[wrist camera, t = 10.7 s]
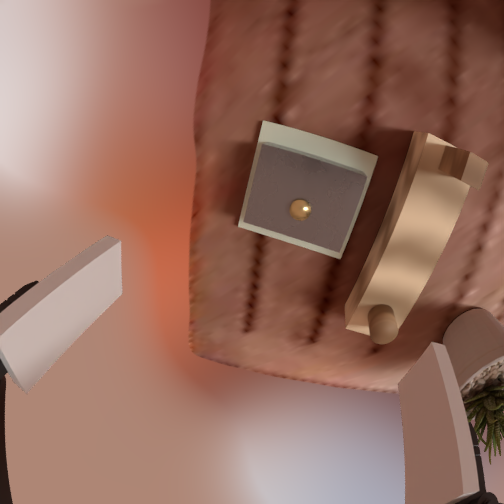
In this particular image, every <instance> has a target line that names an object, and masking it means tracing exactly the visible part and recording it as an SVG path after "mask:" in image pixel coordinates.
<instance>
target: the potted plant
mask: <svg viewBox="0 0 504 504" xmlns="http://www.w3.org/2000/svg"><path fill="white" fill-rule="evenodd" d="M443 345H445V347H446V350H447V352H448V355H449V358H450V361H451V364H452V367H453V370H454V373H455V376H456V380H457V383H458V386H459V390H460V393H461V397H462V400H463V404H464V408H465V412H466V416H467V420H468V422H470V421H471V420H473V419H475V422H476V423H475V426H474V430H475V432H476V433H477V435H478V437H479V439H478V444H479V442H480V440H481V441H482V442H483V443H484V444H485V445H486V448H485V451H486V450H487V448H488V447H489V462H490V464H491V459H490V458H491V444H492V440H493V447H494V452H495V456H496V444H497V446H498V450H499V454H500V456H501V450H500V438H501V440H502V437H501V434H500V432H501V433H502V436H503V438H504V413H503V411H504V326H503V325H502V324H501V323H500V322H499V321H498V320H497V319H496V318H495V317H494V316H493V315H492V314H491V313H490V312H488V311H487V310H485V309H472V310H469V311H466V312H465V313H463V314H461V315H460V316H458V317H457V318H456V319H455V320H454V321H453V322H452V323H451V324H450V325H449V327H448V328H447V330H446V332H445V334H444V337H443ZM486 424H487V427H488V428H487V430H488V431H487V442H485V441H484V440H483V439H482V435H483V432H484V430H485V426H486ZM481 428H482V429H481ZM480 429H481V433H479V432H480ZM485 451H484V452H485Z"/></svg>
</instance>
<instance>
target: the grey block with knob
mask: <svg viewBox="0 0 504 504" xmlns="http://www.w3.org/2000/svg"><path fill="white" fill-rule="evenodd" d="M366 180H367V175H366V174H365V173H364V172H363V171H361V170H358V169H355V168H352V167H349V166H347V165H344V164H341V163H338V162H335V161H332V160H329V159H326V158H323V157H319V156H316V155H313V154H310V153H306V152H303V151H300V150H296V149H293V148H289V147H286V146H282V145H279V144H275V143H271V142H266V143H263V144H262V146H261V150H260V155H259V159H258V163H257V167H256V171H255V175H254V179H253V183H252V188H251V192H250V196H249V200H248V204H247V209H246V213H245V217H244V221H243V222H245V223H248V224H251V225H254V226H258V227H261V228H264V229H267V230H270V231H274V232H277V233H280V234H283V235H286V236H289V237H293V238H296V239H299V240H302V241H305V242H308V243H311V244H314V245H317V246H320V247H323V248H326V249H329V250H332V251H335V252H338V253H340V250H341V248H342V245H343V243H344V240H345V238H346V235H347V233H348V230H349V227H350V225H351V222H352V220H353V217H354V214H355V211H356V209H357V206H358V203H359V200H360V198H361V195H362V192H363V189H364V186H365V183H366Z"/></svg>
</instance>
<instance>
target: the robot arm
mask: <svg viewBox="0 0 504 504" xmlns="http://www.w3.org/2000/svg"><path fill="white" fill-rule="evenodd" d="M120 295H122V274H121V241H120V240H118V239H115V238H113V237H110V236H108V235H107V236H105V237H104V238H102V239H101V240H99V241H98V242H96V243H95V244H93V245H92V246H90V247H89V248H87V249H85V250H84V251H83V252H81V253H80V254H78V255H77V256H75V257H74V258H72V259H71V260H69V261H68V262H66V263H65V264H64V265H62V266H61V267H59V268H58V269H57V270H55V271H54V272H52V273H51V274H50V275H48V276H47V277H46V278H44V279H43V280H42V281H40V282H38V281H35V282H32V283H29V284H27V285H25V286H23V287H22V288H21V289H19V290H18V291H17V292H15V295H14V294H13V295H12V296H10V297H9V298H8V300H7V301H6V300H5V301H4V302H3V303H1V304H0V504H13V503H12V498H11V492H10V485H9V479H8V470H7V461H6V448H5V421H4V420H5V390H6V378H5V374H6V373H7V372H8V373H9V375H10V377H11V378H12V380H13V382H14V383H15V384H17V385H18V386H19V387H20V388H21V389H22V390H23V391H24V392H25V393H28V392H29V391H30V390H31V388H32V387H33V386H34V385H35V384H36V383H37V382H38V381H39V379H40V378H41V377H42V376H43V375H44V374H45V372H47V370H48V369H49V368H50V367H51V366H52V365H53V364H54V363H55V362H56V361H57V360H58V358H59V357H60V356H61V355H62V354H63V353H64V352H65V351H66V350H67V349H68V348H69V347H70V346H71V345H72V344H73V343H74V342H75V341H76V339H77V338H78V337H79V336H80V335H81V334H82V333H83V332H84V331H85V330H86V329H87V328H88V327H89V326H90V325H91V324H92V323H93V322H94V321H95V320H96V319H97V318H98V317H99V316H100V315H101V314H102V313H103V312H104V311H105V310H106V309H107V308H108V307H109V306H110V305H111V304H112V303H113V302H114V301H115V300H116V299H117V298H118V297H120ZM398 390H399V397H400V405H401V415H402V426H403V438H404V454H405V504H502V503H498V500H497V498H496V496H495V495H494V494H492V493H491V492H486V489H485V481H484V473H483V467H482V461H481V456H480V449H479V447H478V445H479V444H478V439H477V434H476V432H475V430H474V428H473V426H472V424H471V422H468V420H467V416H466V412H465V408H464V404H463V400H462V397H461V393H460V390H459V386H458V383H457V380H456V376H455V373H454V370H453V367H452V364H451V361H450V358H449V355H448V352H447V350H446V347H445V345H442V344H438V343H435V342H431V343H430V345H429V346H428V347H427V349H426V350H425V351H424V353H423V354H422V355H421V357H420V358H419V359H418V360H417V362H416V363H415V364H414V365H413V367H412V368H411V369H410V370H409V371H408V373H407V374H406V375H405V376H404V377H403V379H402V380H401V381H400V382H399V383H398Z"/></svg>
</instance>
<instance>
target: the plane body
mask: <svg viewBox="0 0 504 504" xmlns="http://www.w3.org/2000/svg"><path fill="white" fill-rule="evenodd" d="M487 166H488V162H486V161H485V160H483V159H481V158H480V157H478V156H476V155H475V154H473V153H471V152H469V151H466V150H462V149H458V148H456V147H455V146H453V145H451V144H449V143H447V142H445V141H443V140H441V139H439V138H437V137H435V136H433V135H431V134H429V133H424V132H417V131H414V133H413V136H412V139H411V143H410V146H409V149H408V152H407V155H406V158H405V162H404V165H403V168H402V170H401V173H400V176H399V179H398V182H397V185H396V188H395V190H394V193H393V196H392V199H391V201H390V204H389V206H388V209H387V212H386V214H385V217H384V219H383V222H382V224H381V227H380V229H379V232H378V234H377V236H376V239H375V241H374V243H373V246H372V248H371V250H370V253H369V255H368V257H367V259H366V262H365V264H364V266H363V268H362V270H361V273H360V275H359V277H358V279H357V281H356V283H355V285H354V287H353V289H352V292H351V294H350V296H349V298H348V300H347V302H346V304H345V327H346V329H349V330H352V331H356V332H359V333H363V334H366V335H370V338H371V340H372V341H373V342H374V343H377V344H387V343H389V342H391V341H393V340H394V339H395V338H396V337H397V335H398V329H399V328H400V326H401V325H402V323H403V322H404V320H405V318H406V317H407V315H408V314H409V312H410V310H411V309H412V307H413V305H414V304H415V302H416V300H417V299H418V297H419V295H420V293H421V292H422V290H423V288H424V286H425V284H426V283H427V281H428V279H429V277H430V275H431V273H432V272H433V270H434V268H435V266H436V264H437V262H438V260H439V258H440V256H441V254H442V252H443V250H444V248H445V246H446V243H447V241H448V239H449V237H450V235H451V233H452V230H453V228H454V226H455V223H456V221H457V219H458V216H459V214H460V211H461V209H462V206H463V204H464V201H465V199H466V196H467V193H468V191H469V188H470V186H471V187H473V188H475V189H477V190H480V187H481V184H482V181H483V179H484V176H485V173H486V169H487Z"/></svg>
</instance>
